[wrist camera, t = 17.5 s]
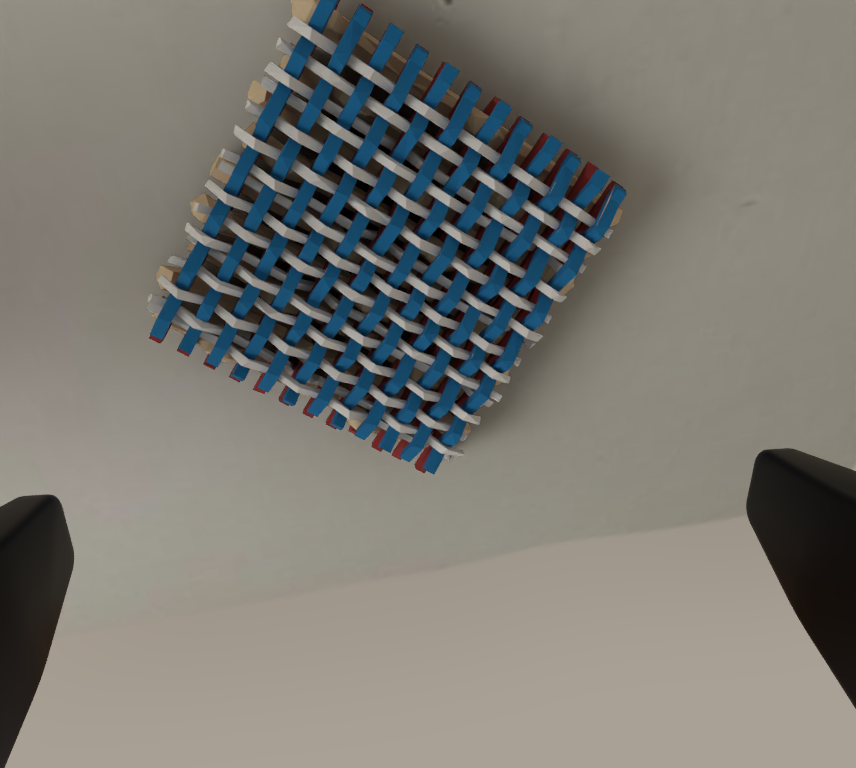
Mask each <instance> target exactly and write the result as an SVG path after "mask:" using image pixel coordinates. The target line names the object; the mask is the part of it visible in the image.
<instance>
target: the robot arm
mask: <svg viewBox="0 0 856 768" xmlns="http://www.w3.org/2000/svg"><path fill="white" fill-rule="evenodd" d="M746 509H747V515H748V519H749V521H750V524H751V526H752V528H753V530H754V532H755V533H756V536H757V538H758V540H759V542H760V544H761V546H762V548H763V550H764V552H765V554H766V556H767V558H768V560H769V562H770V564H771V566H772V568H773V570H774V572H775V574H776V576H777V578H778V580H779V582H780V584H781V586H782V588H783V590H784V592H785V594H786V596H787V598H788V600H789V602H790V604H791V605H792V607H793V609H794V611H795V613H796V615H797V616H798V618H799V620H800V622H801V623H802V625H803V626H804V628H805V630H806V631H807V633H808V635H809V636H810V638H811V639H812V641H813V643H814V644H815V646H816V647H817V649H818V650H819V652H820V654H821V655H822V657H823V658H824V660H825V661H826V663H827V664H828V666H829V668H830V669H831V671H832V672H833V674H834V675H835V677H836V679H837V680H838V682H839V683H840V685H841V686H842V688H843V690H844V691H845V693H846V694H847V696H848V697H849V699H850V701H851V702H852V704H853V705H854V707H855V708H856V471H854V470H851V469H848V468H845V467H843V466H840V465H837V464H834V463H832V462H829V461H826V460H823V459H820V458H818V457H815V456H812V455H809V454H806V453H804V452H801V451H798V450H795V449H789V448H785V449H770V450H763V451H762V452H760V453H759V454H758V456H757V457H756V460H755V463H754V468H753V473H752V478H751V483H750V488H749V492H748V497H747V504H746ZM73 565H74V550H73V546H72V542H71V538H70V534H69V531H68V527H67V523H66V519H65V516H64V512H63V508H62V505H61V503H60V501H59V499H58V498H57V497H55V496H54V495H32V496H22V497H18V498H16V499H14V500H12V501H10V502H8V503H7V504H5V505H3V506H1V507H0V768H4V767H5V765H6V763H7V760H8V758H9V755H10V753H11V751H12V748H13V746H14V743H15V741H16V739H17V736H18V734H19V731H20V729H21V727H22V724H23V722H24V719H25V717H26V715H27V712H28V710H29V707H30V705H31V702H32V700H33V697H34V695H35V693H36V690H37V687H38V685H39V682H40V680H41V677H42V674H43V670H44V667H45V664H46V661H47V658H48V654H49V651H50V647H51V644H52V640H53V637H54V633H55V630H56V626H57V623H58V619H59V616H60V612H61V609H62V605H63V602H64V598H65V595H66V591H67V588H68V584H69V581H70V577H71V574H72V570H73Z"/></svg>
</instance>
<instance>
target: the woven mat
mask: <svg viewBox="0 0 856 768" xmlns="http://www.w3.org/2000/svg"><path fill="white" fill-rule="evenodd" d="M339 2H340V0H291V7H292V16H293V18H292V19H291V20H290V22H289V23H288V24H287V26H289V27H290V28H292V29H293V30H295V31H296V32H298V33H299V34H301V35H302V36H301V38H300V40H299V42H298V43H297V45H296V46H295V45H293V44H292V43H291V44H290V43H288V42H286V41H285V40H283V39H282V38H280V37H279V38H278V41H277V45H276V49H278V50H280V51H281V52H283V53H285V54H284V56H283V58H282V60H281V63H280V65H279V67H280V68H281V69H280V68H279V67H278V66H276V65H275V64H274V63H272V62H270V63H269V64H268V66H267V67H266V68H265V70H264V71H265V72H266V73H268V74H269V75H271V76H272V77H274V78H275V79H277V80H278V81H279V82H278V84H277V83H275V82H274V81H272V80H271V79H269V78H268V77H266V76H265V75H264V77H263V79H262V81H261V83H260V82H258V81H255V80H253V82H252V85H251V87H250V89H249V92H248V94H247V95H248V97H249V99H250V100H249V99H248V100H247V103H246V107H245V110H247V111H248V112H250V113H252V114H254V115H256V116H258V117H259V120H258V122H257V125H256V124H255V123H254V122H253V123H252V124H251V125H250V126H249V127H248V128H247V129H246V130H245V131H244V130H243V129H241V128H240V127H238V126H237V125H235V129H234V135H235V136H236V137H238V138H239V139H240V140H242V147H244V148H245V150H244V152H243V153H242V155H241V156H239V155H237V154H235V153H233V152H231V151H229V150H227V149H222V151H221V153H219V155H218V157H217V158H216V160H215V162H214V163H213V165H212V168H211V171H210V174H209V175H210V176H212V177H214V178H216V179H217V180H219V181H221V182H223V183H224V184H226V186H225V188H224V190H222V189H221V188H220V187H218V186H217V185H216V184H215V183H213V182H212V181H211V180H210V179H209V180H208V182H207V183H206V184H205V186H206V187H207V188H208V189H209V190H210V191H211V192H212V193H213V194H214V195H216V196H217V197H218V198H219V199H218V200H217V202H216V201H215V200H214V199H212V198H211V197H210V196H209V195H207V194H206V193H203V194H201V195H200V196H198V197H196V198H195V199H193V200H191V211H192V214H193V215H194V216H195V217H196V218H197V219H199V220H200V221H201V222H202V223H204V224H205V226H204V228H203V230H202V231H200V230H199V229H197V228H196V227H194V226H193V225H191V224H190V223H188V222H187V224H186V227H185V231H186V232H187V233H189V234H188V236H187V238H186V239H187V240H188V241H190V243H189V245H188V247H187V250H189V251H190V252H191V254H190V255H189V257H188V259H185V258H181V257H177V256H173V255H172V256H171V257H170V258H169V260H168V261H167V262H168V263H171V264H174V265H177V266H180V267H183V268H180V267H171V266H163V265H161V266H160V269H159V271H158V273H157V276H156V279H157V282H158V284H159V287H160V289H161V290H167V291H169V292H170V295H169V297H168V298H166V297H164V296H163V297H159V296H156V295H153V294H150V295H149V298H148V300H147V301H148V302H150V304H149V306H148V308H147V310H149V311H151V312H152V313H153V314H152V317H154V318H156V321H155V324H154V326H153V328H152V331H151V333H150V337H149V338H150V339H152V340H154V341H156V342H158V343H161V342H162V341H163V340H164V338H165V336H166V334H167V332H168V330H169V329H170V327H172V328H173V329H175V330H177V331H179V332H181V333H182V334H184V335H185V336H184V338H183V340H182V341H181V343H180V345H179V347H178V349H177V351H178V352H180V353H182V354H184V355H186V356H188V357H189V355H190V354H191V352H192V350H193V348H194V346H195V344H196V343H197V344H198V345H199V346H200V347H201V348H202V349H203V350H204V351H205V352H207V353H208V356H207V358H206V359H205V361H204V363H203V364H204V365H206V366H208V367H210V368H212V369H215V368H216V367H218V365H219V364H220V362H221V361H223V362H229V363H236V365H235V367H234V368H233V370H232V372H231V374H230V376H229V377H230V378H232V379H234V380H236V381H238V382H240V381H243V380H245V378H246V376H247V374H248V371H249V369H253V370H256V371H259V372H261V373H262V375H261V376H260V378H259V380H258V381H257V383H256V385H255V386H254V388H253V390H255V391H258V392H261V393H263V394H265V392H269V391H270V389H271V388H272V387H273V385H274V384H275V382H276V381H279V382H281V383H283V384H285V385H286V386H285V388H284V390H283V391H282V393H281V395H280V397H279V401H280V402H282V403H284V404H286V405H287V406H289V405H290V406H294V405H295V404H296V402H297V399H298V397H299V394H303V395H306V396H309V397H311V398H310V400H309V401H308V403H307V405H306V406H305V408H304V410H303V414H305V415H307V416H309V417H311V418H313V416H314V415H315V416H317V417H318V415H319V414H320V413H321V412H322V411H323V409H324V408H325V407H326V406H329V407H331V408H333V411H332V412H331V414H330V415H329V417H328V418H327V421H326V425H328V426H330V427H332V428H334V429H336V428H337V429H339V430H342V429H343V427H344V425H345V423H346V421H347V422H348V423H349V424H350V428H349V430H348V431H350V432H352V433H354V434H355V436H357V437H359V438H361V439H363V440H365V439H366V438H367V437H368V436H369V435H370V434H371V433H377V436H376V438H375V439H374V441H373V442H372V447H373V448H375V449H377V450H378V451H380V452H381V451H382V450H383V449H384V450H386V451H388V452H391V450H392V448H393V446H394V444H395V442H396V440H398V441H400V442H399V444H398V445H397V446H396V448H395V449H394V451H393V453H392V456H394V457H396V458H398V459H400V460H401V459H404V460H406V461H408V462H410V461H411V460H412V459H413V458H414V457H415V456H416V455H417V454H418V453H419V452H422V453H421V455H420V457H419V458H418V460H417V461H416V463H415V468H416V470H419V471H421V472H423V473H425V472H426V471H428V472H430V473H432V474H434V473H435V472H436V470H437V468H438V466H439V464H440V463H441V461H442V460H443V459H444V458H445V459H446V460H448V461H449V462H451V460H452V459H453V457H454V456H458V457H460V456H462V455H465V454H464V452H463V451H462V450H459V449H456V448H452V446H454V445H456V444H457V442H458V441H459V439H460V440H461V441H462V442H463V441H465V440H466V438H467V436H468V435H467V434H468V433H469V432H471V431H472V430H471V428H470V425H469V423H468V422H471V423H474V424H477V425H480V419H481V417H480V416H476V415H472V414H473V413H474V412H475V411H476V410H477V409H478V408H479V407H482V406H483V405H485V406H487V407H490V406H491V405H492V404H493V403H494V402H493V401H492V400H490V399H489V397H490V398H492V399H494V400H495V401H497V402H499V401H500V399H501V398H502V396H501V395H500V394H499V393H497V392H496V391H495V390H493V387H494V386H496V385H498V384H500V383H502V382H504V383H507V384H509V381H510V378H511V377H510V376H508V374H509V371H510V367H511V366H512V365H513V364H514V365H515V366H517V367H518V365H519V364H520V362H521V361H522V359H520V358H519V357H518V356H517V355H518V352H519V350H520V348H521V345H522V343H524V344H525V346H526V347H527V348H528V349H530V348H531V347H533V346H534V345H535V342H534V341H536V342H538V341H539V340H540V339H541V338H542V337H543V336H542V335H540V334H538V333H536V332H533V331H534V330H535V329H536V328H537V327H538V326H540V325H541V324H542V323H543V322H544V321H545V322H546V323H547V324H548V323H549V321H550V320H551V318H552V316H551V315H550V314H548V311H549V309H550V306H551V304H552V301H553V300H555V301H558V302H560V303H561V302H562V301H564V300H565V299H566V298H567V296H565V294H566V293H567V292H568V291H569V290H570V289H572V288H573V287H574V286H575V284H574V282H573V281H574V279H575V277H576V275H577V273H578V272H580V273H581V274H582V273H583V272H584V270H585V269H586V267H587V266H586V265H584V264H583V263H582V262H583V260H585V259H586V258H588V257H589V256H590V255H591V254H593V255H596V254H597V253H598V252H599V251H600V250H601V248H599V247H598V246H596V245H595V243H596V242H597V241H599V240H600V239H601V238H602V237H603V236H604V237H606V238H607V239H609V237H610V235H611V234H612V232H613V230H611V229H610V228H609V227H611V226H614V225H616V224H618V223H619V220H620V218H621V215H622V213H623V211H624V210H623V209H622V208H620V207H619V205H620V203H621V202H622V200H623V199H624V197H625V196H626V190H625V189H624V188H623V187H622V186H620V185H619V184H618V183H616V182H615V181H613V180H612V181H611V183H610V184H609V185H608V187H607V188H606V189H605V191H604V192H603V194H602V195H601V194H600V193H599V192H600V191H601V190H602V188H603V187H604V185H605V184H606V182H607V181H608V179H609V177H610V176H609V175H607V174H606V173H604V172H603V171H601V170H600V169H599V168H597V167H596V166H594V165H593V164H592V163H590V162H589V161H588V163H587V164H586V166H585V168H584V169H583V171H582V173H581V174H580V176H579V178H577V177H575V176H574V175H573V174H574V172H575V171H576V169H577V168H578V166H579V164H580V163H581V160H580V158H579V157H577V155H576V154H574V153H573V152H572V151H570V150H569V149H565V150H564V152H563V153H562V155H561V156H560V158H559V159H558V161H557V162H556V163H555V162H554V161H552V159H553V158H554V156H555V155H556V153H557V152H558V150H559V148H560V147H561V145H562V144H563V143H562V142H560V141H559V140H557V139H556V138H554V137H553V136H550V137H549V136H548V135H546V134H545V133H543V134H542V135H541V137H540V138H539V140H538V141H537V143H536V144H535V145H534V147H532V146H531V145H529V144H528V143H526V142H525V139H526V137H527V135H528V134H529V132H530V131H531V130H532V128H533V127H532V124H530V122H528V121H527V120H526V119H524V118H523V117H521V116H518V118H517V119H516V121H515V122H514V124H513V125H512V127H511V129H510V130H508V129H506V128H505V127H503V126H502V124H503V122H504V121H505V119H506V118H507V116H508V114H509V113H510V111H511V110H512V107H510V106H509V105H507V104H506V103H504V102H503V101H501V100H500V99H498V98H497V97H494V98H493V99H492V100H491V102H490V103H489V104H488V106H487V107H486V108H485V109H484V111H483V112H482V111H480V110H479V109H477V108H476V107H474V105H475V103H476V101H477V99H478V98H479V96H480V94H481V91H482V89H481V88H480V87H478V86H477V85H476V84H474V83H473V82H471V81H469V82H468V84H467V86H466V87H465V89H464V90H463V92H462V94H461V95H460V96H458V95H457V94H455V93H454V92H452V91H451V90H449V87H450V86H451V84H452V82H453V81H454V79H455V78H456V76H457V74H458V73H459V70H458V69H456V68H455V67H453V66H452V65H450V64H449V63H445V62H443V63H442V64H441V66H440V68H439V69H438V71H437V73H436V75H435V76H434V78H432V77H431V76H429V75H428V74H426V73H425V72H423V71H422V70H421V68H422V66H423V64H424V62H425V60H426V58H427V56H428V54H429V52H428V51H427V50H425V49H424V48H422V47H421V46H419V45H418V44H416V46H415V48H414V50H413V52H412V53H411V55H410V57H409V59H408V60H406V59H404V58H403V57H402V56H400V55H399V54H397V53H396V52H394V49H395V47H396V45H397V44H398V42H399V40H400V38H401V37H402V35H403V33H404V32H403V31H402V30H400V29H399V28H398V27H396V26H395V25H393V24H392V23H390V24H389V26H388V28H387V30H386V31H385V33H384V35H383V37H382V39H381V40H380V41H378V40H377V39H375V38H374V37H373V36H371V35H370V34H368V33H367V32H365V31H364V30H365V28H366V26H367V24H368V22H369V20H370V18H371V16H372V14H373V11H372V10H371V9H369V8H368V7H366V6H365V5H363V4H361V5H360V4H359V6H358V8H357V10H356V12H355V14H354V16H353V18H352V19H351V21H349V20H348V19H347V18H345V17H344V16H343V15H341V14H340V13H339V12H337V11H336V9H337V7H338V4H339ZM316 46H319V47H320V48H322V49H323V50H325V51H326V52H328V53H329V54H331V55H332V57H331V59H330V61H329V63H328V65H327V67H326V66H325V65H323V64H322V63H320V62H319V61H317V60H316V59H314V58H313V57H311V56H312V54H313V52H314V50H315V48H316ZM345 65H347V66H349V67H350V68H352V69H353V70H355V71H356V72H358V73H360V74H361V76H360V77H359V79H358V81H357V83H356V85H355V86H354V85H353V84H351V83H350V82H348V81H347V80H345V79H344V78H342V77H341V76H340V75H341V73H342V71H343V69H344V67H345ZM282 69H283V70H284V71H283V70H282ZM301 82H302V83H301ZM375 84H376V85H378V86H379V87H381V88H382V89H384V90H385V91H387V92H388V93H389V94H388V96H387V98H386V99H385V101H384V103H383V104H382V103H381V102H379V101H378V100H376V99H374V98H372V97H371V96H369V95H370V93H371V91H372V89H373V87H374V85H375ZM293 90H294V91H295V92H297V93H299V94H300V95H302V96H303V97H305V98H307V99H308V100H309V102H308V103H306V102H304V101H303V100H301V99H300V98H298V97H296V96H295V95H293V94H292V92H293ZM403 103H405V104H406V105H408V106H409V107H411V108H412V109H414V110H415V111H414V113H413V114H412V116H411V118H410V120H409V121H408V120H407V119H405V118H404V117H402V116H400V115H399V114H397V112H398V111H399V109H400V108H401V106H402V104H403ZM322 108H323V109H324V110H326V111H328V112H329V113H331V114H332V115H334V116H336V117H337V119H336V121H335V122H334V121H332V120H331V119H329V118H328V117H326V116H325V115H324V114H322V113H321V110H322ZM429 120H430V121H432V122H433V123H435V124H436V125H438V126H439V127H441V128H440V130H439V131H438V133H437V134H436V136H435V138H434V137H432V136H431V135H429V134H428V133H426V132H425V130H426V127H427V125H428V123H429ZM351 126H352V127H353V128H355V129H356V130H358V131H359V132H361V133H363V134H364V135H365V136H364V138H363V139H362V138H360V137H358V136H357V135H355V134H353V133H351V132H350V131H349V130H350V128H351ZM274 127H276V128H277V129H279V130H280V131H282V132H283V133H285V134H286V135H288V136H289V139H288V141H287V142H286V144H285V146H284V145H283V144H282V143H280V142H279V141H278V140H276V139H275V138H274V137H272V136H271V135H270V134H271V132H272V131H273V129H274ZM457 139H458V140H460V141H461V142H463V146H462V148H461V151H460V153H459V154H458V153H457V152H455V151H454V150H452V149H450V148H451V147H452V146H453V144H454V143H455V142H456V140H457ZM379 144H381V145H383V146H384V147H386V148H388V149H390V150H392V151H391V152H390V154H389V156H388V155H387V154H385V153H384V152H383V151H381V150H380V149H378V146H379ZM302 146H305V147H307V148H309V149H311V150H313V151H315V152H317V153H318V154H317V156H316V158H315V160H312V159H310V158H308V157H305V156H303V155H300V154H298V153H299V151H300V149H301V147H302ZM481 155H483V156H484V157H486V158H487V159H489V160H490V161H489V163H488V165H487V166H486V168H485V169H484V170H482V169H481V168H479V167H478V166H477V165H478V163H479V161H480V158H481ZM258 158H259V159H260V160H262V161H263V162H264V163H266V164H267V165H268V166H270V167H271V168H272V171H271V172H270V174H269V175H268V174H267V173H265V172H264V171H263V170H261V169H260V168H258V167H257V166H256V165H255V163H256V161H257V159H258ZM405 159H406V160H407V161H408V162H410V163H411V164H412V165H414V167H413V169H412V170H411V169H409V168H407V167H406V166H404V165H403V163H404V161H405ZM332 162H334V163H335V164H336V165H338V166H339V167H340V168H342V169H343V170H344V171H345V172H344V173H343V175H342V177H340V176H338V175H336V174H335V173H333V172H331V171H330V170H328V168H329V166H330V165H331V163H332ZM508 173H509V174H511V175H512V176H511V177H510V179H509V180H508V181H507V182H506V183H505V184H503V183H501V181H502V180H503V179H504V178H505V177H506V176H507V174H508ZM285 178H287V179H290V180H293V181H295V182H298V183H301V185H300V187H299V189H295V188H293V187H291V186H289V185H286V184H284V183H283V181H284V180H285ZM357 179H359V180H361V181H363V182H365V183H367V184H369V185H371V187H370V189H369V190H368V192H367V193H366V192H364V191H363V190H361V189H359V188H358V187H356V186H355V184H356V182H357ZM432 179H435V180H436V181H438V182H439V183H441V185H440V187H439V188H438V187H437V186H435V185H434V184H433V183H431V181H432ZM531 188H532V189H534V190H535V191H537V193H536V194H535V196H534V197H533V199H532V200H531V202H530V201H528V200H527V198H528V196H529V193H530V190H531ZM315 190H317V191H319V192H321V193H322V194H324V195H326V196H327V197H329V200H328V202H327V203H326V205H324V204H322V203H321V202H319V201H317V200H316V199H314V198H312V196H313V194H314V192H315ZM240 193H242V194H244V195H245V196H247V197H249V198H251V199H252V200H254V201H255V202H254V204H251V203H249V202H246V201H244V200H242V199H239V198H238V197H239V195H240ZM455 194H458V195H459V196H461V197H462V198H464V199H465V200H464V202H463V203H461V202H460V201H458V200H456V199H454V196H455ZM386 195H387V196H388V197H390V198H391V199H392V200H394V201H395V202H394V204H393V206H392V208H390V207H389V206H387V205H385V204H384V203H382V200H383V199H384V198H385V196H386ZM556 206H559V207H560V208H559V209H558V210H557V212H556V213H555V215H554V216H552V215H550V214H549V213H550V212H551V211H552V210H553V209H554V208H555V207H556ZM234 207H235V208H237V209H240V210H243V211H245V212H248V213H249V214H248V216H247V215H245V214H242V213H239V212H236V211H233V208H234ZM343 207H346V208H347V209H349V210H351V211H352V212H354V214H353V216H352V217H351V219H350V220H349V219H347V218H346V217H344V216H342V215H341V214H339V213H340V211H341V210H342V208H343ZM268 209H270V210H271V211H273V212H275V213H277V214H278V215H280V216H282V217H283V218H282V220H281V222H279V221H278V220H277V219H275V218H274V217H273V216H271V215H270V214H269V213H267V211H268ZM483 211H484V212H485V213H486V215H485V216H483V215H482V213H483ZM410 212H412V213H414V214H417V215H419V216H421V219H420V220H419V222H418V224H416V223H415V222H413V221H412V220H410V219H408V215H409V213H410ZM512 218H513V219H512ZM514 219H515V220H514ZM577 219H579V220H580V221H582V222H581V224H580V225H579V226H578V228H577V229H576V230H574V228H575V225H576V222H577ZM262 221H264V222H265V223H266V224H268V225H269V226H270V227H271V228H273V229H274V230H275V231H273V230H271V229H270V228H268V227H266V226H264V225H263V224H261V222H262ZM335 222H336V223H337V224H336V223H335ZM368 222H371V223H372V224H374V225H376V226H377V227H379V228H380V229H379V230H378V232H376V231H372V230H368V229H365V228H366V226H367V224H368ZM338 224H339V225H341V226H342V227H344V230H343V229H342V228H341V227H340V226H339V225H338ZM296 225H298V226H299V227H301V228H303V229H305V230H306V231H308V232H310V233H309V235H306V234H303V233H301V232H298V231H295V230H294V229H295V227H296ZM504 225H505V226H507V227H509V228H510V229H512V230H511V231H509V230H507V229H506V228H504ZM438 227H439V228H441V229H442V231H441V232H440V234H439V235H438V236H437V237H435V236H434V235H433V233H434V232H435V230H436V229H437V228H438ZM219 234H222V235H226V236H229V237H232V238H235V241H234V243H233V245H232V244H229V243H226V242H223V241H220V240H217V237H218V235H219ZM360 237H363V238H366V239H370V240H373V241H372V242H369V241H368V240H366V239H363V238H360ZM396 238H397V239H399V240H401V241H402V242H404V243H405V244H404V246H403V247H402V249H401V248H400V247H398V246H397V245H396V244H394V243H393V242H394V240H395V239H396ZM289 239H291V240H294V241H297V242H300V243H303V246H302V247H301V246H299V245H298V244H296V243H294V242H292V241H291V240H289ZM460 242H461V243H462V244H464V245H467V246H469V247H468V248H467V250H466V251H465V253H464V252H462V251H461V250H459V249H457V248H458V246H459V244H460ZM322 243H323V244H322ZM249 244H252V245H253V246H255V247H257V248H259V249H261V250H262V251H264V253H263V255H262V257H261V259H260V258H258V257H256V256H254V255H252V254H250V253H248V252H246V250H247V248H248V246H249ZM386 251H389V252H390V253H391V254H390V253H388V252H386ZM317 253H319V254H320V255H321V256H323V257H324V258H325V259H327V261H326V260H324V259H322V258H321V257H319V256H317V255H316V254H317ZM393 255H394V256H393ZM418 255H421V256H422V257H423V258H425V259H424V261H423V262H421V261H419V260H418V259H417V257H418ZM487 258H489V259H491V262H490V264H489V265H488V267H487V266H486V265H484V264H483V263H484V262H485V261H486V259H487ZM278 259H279V260H280V261H282V262H284V263H286V264H288V265H289V266H290V267H289V269H288V270H287V272H285V271H283V270H281V269H279V268H277V267H275V266H274V264H275V263H276V261H277V260H278ZM346 259H347V260H350V261H353V262H356V263H359V264H358V265H357V264H354V263H352V262H349V261H347V260H346ZM205 260H206V261H208V262H210V263H211V264H213V265H215V266H216V267H218V268H220V270H219V272H218V273H217V275H216V277H215V276H214V275H213V274H211V273H210V272H209V271H208V270H206V269H205V268H204V267H203V264H204V262H205ZM342 269H344V270H347V271H350V272H352V273H353V274H352V275H351V274H349V273H347V272H345V271H343V270H342ZM375 271H377V272H378V273H380V274H382V275H384V277H383V278H382V279H381V278H380V277H379V276H377V275H376V274H375V273H374V272H375ZM443 271H447V272H450V273H451V275H450V276H449V278H446V277H445V276H443V275H441V274H442V273H443ZM508 272H509V273H511V274H513V277H512V278H511V280H509V279H507V278H506V276H507V273H508ZM303 274H306V275H307V276H309V277H311V278H313V279H315V280H316V282H312V281H307V280H302V279H301V278H302V276H303ZM232 276H234V277H236V278H237V279H239V280H241V281H242V282H244V283H246V286H245V288H241V287H238V286H235V285H232V284H229V281H230V279H231V278H232ZM277 279H278V280H280V281H281V282H279V281H278V280H277ZM469 281H470V282H472V283H473V284H475V286H474V288H473V289H472V291H471V292H470V293H469V292H467V291H466V290H465V289H466V287H467V285H468V283H469ZM369 282H371V283H372V284H373V285H375V286H376V287H375V288H374V289H373V290H372V289H371V288H370V287H368V284H369ZM400 285H401V286H403V287H404V288H406V289H408V291H407V293H405V292H402V291H399V290H397V288H398V287H399V286H400ZM299 289H301V290H299ZM330 289H332V290H334V291H336V292H338V293H340V296H339V297H338V299H336V298H335V297H334V296H333V295H332V294H331V293H329V292H328V291H329V290H330ZM303 290H305V291H310V292H309V293H307V292H305V291H303ZM529 291H531V293H530V292H529ZM258 295H259V296H261V297H262V298H263V299H264V300H265V301H266V302H267V303H268V304H267V303H266V302H265V301H263V300H262V299H261V298H260V297H258ZM494 296H496V297H497V298H496V299H495V300H494V301H493V302H492V303H491V304H490V305H489V306H488V305H486V302H487V301H489V300H490V299H491V298H493V297H494ZM391 298H394V299H397V300H400V301H401V303H400V302H398V301H396V300H394V299H391ZM322 300H324V301H325V302H326V303H325V302H324V301H322ZM424 300H427V301H429V302H430V303H432V304H431V306H429V305H427V304H426V303H425V302H424ZM184 301H188V302H192V303H196V304H200V305H201V306H200V307H199V309H198V311H197V313H196V314H195V313H193V312H191V311H189V310H188V309H186V308H184V307H182V304H183V302H184ZM353 305H354V306H355V307H357V308H358V309H359V310H360V312H359V311H356V310H355V309H353V308H352V307H353ZM516 308H517V309H519V310H520V312H519V313H518V314H517V316H516V317H515V319H513V318H512V315H513V313H514V311H515V309H516ZM213 311H214V312H215V313H216V314H217V315H219V316H220V317H221V318H222V319H223V320H224V321H226V323H225V324H224V326H223V327H222V326H218V325H215V324H211V323H209V322H208V320H209V319H210V317H211V315H212V313H213ZM419 311H421V312H423V313H424V314H425V315H424V316H422V315H421V314H419ZM281 312H284V313H290V314H296V316H292V315H288V314H284V313H281ZM448 314H451V315H453V316H454V318H453V319H452V320H451V319H449V318H446V316H447V315H448ZM312 320H314V321H315V322H317V323H319V324H321V325H322V326H321V328H320V329H319V330H317V329H316V328H315V327H313V326H312V325H311V322H312ZM379 321H384V322H388V324H387V325H386V327H385V326H383V325H382V324H381V323H379ZM441 326H445V327H447V328H446V329H445V328H443V327H441ZM238 329H241V330H245V331H250V332H253V334H252V336H251V338H250V339H249V340H248V339H246V338H245V337H243V336H241V335H239V334H237V331H238ZM404 330H406V331H408V332H410V333H412V335H411V337H410V338H409V340H408V341H407V342H405V341H404V340H403V339H401V338H400V337H401V335H402V333H403V331H404ZM305 333H306V334H308V335H309V336H310V337H311V338H312V339H310V338H309V337H308V336H307V335H306V334H305ZM337 333H338V334H340V335H342V336H343V337H345V338H347V339H346V340H345V342H340V341H337V340H333V338H334V337H335V335H336V334H337ZM467 339H468V340H467ZM267 340H269V341H270V342H271V343H272V344H273V345H274V346H276V347H277V349H276V351H275V353H273V352H271V351H269V350H267V349H265V348H264V347H263V346H264V345H265V343H266V342H267ZM466 340H467V341H466ZM491 343H495V344H497V345H494V344H491ZM430 345H433V346H432V347H431V348H430V349H429V350H428V351H427V352H426V353H422V352H423V351H424V350H425V349H427V348H428V347H429V346H430ZM361 347H364V348H366V349H368V350H369V351H370V352H369V354H368V355H367V357H366V356H365V355H364V354H363V353H361V352H360V350H361ZM487 352H489V353H490V354H488V353H487ZM289 356H295V357H297V358H298V359H299V362H298V364H297V366H295V365H293V364H292V363H291V362H290V361H288V358H289ZM451 356H453V357H455V358H456V361H455V362H454V364H453V365H452V366H450V365H449V364H448V363H449V361H450V358H451ZM385 360H388V361H390V362H392V363H393V364H392V366H391V368H388V367H384V366H381V365H382V364H383V362H384V361H385ZM317 368H319V369H323V370H324V371H325V372H326V373H325V375H324V377H321V376H319V375H316V374H313V373H314V372H315V371H316V370H317ZM477 371H478V372H477ZM475 372H477V374H476V375H475V377H474V378H470V376H471V375H473V374H474V373H475ZM409 377H410V378H409ZM339 382H345V383H349V385H348V387H347V388H346V389H345V388H343V387H341V386H339V385H338V384H339ZM430 388H434V389H436V390H435V391H429V389H430ZM367 392H369V393H370V394H371V396H370V397H369V398H368V399H365V398H363V397H364V396H365V395H366V394H367ZM456 397H459V398H458V399H457V400H456V401H455V399H456ZM387 406H390V407H394V409H393V410H392V412H391V413H388V412H387V411H386V408H387ZM414 417H416V419H415V420H414V422H413V423H410V422H411V421H412V420H413V418H414ZM433 428H435V429H434V431H433V434H431V431H432V429H433Z"/></svg>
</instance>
